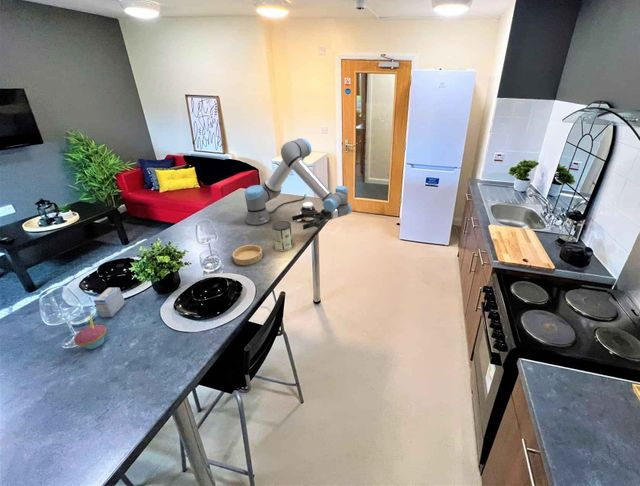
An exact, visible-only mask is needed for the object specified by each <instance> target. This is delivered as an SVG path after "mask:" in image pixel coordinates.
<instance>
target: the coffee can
mask: <svg viewBox="0 0 640 486" xmlns="http://www.w3.org/2000/svg"><path fill="white" fill-rule="evenodd" d="M271 228H272V236H273V242H274V249H275V250H276V251H279V252H285V251H289V250H291V249H292V248H293V247H294V243H293V242H294V241H293V234H292V233H293V232H292V223H291V222H290V221H288V220H279V221H276V222H273V223H272V224H271Z"/></svg>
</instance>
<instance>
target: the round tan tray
mask: <svg viewBox="0 0 640 486" xmlns="http://www.w3.org/2000/svg"><path fill="white" fill-rule="evenodd" d="M231 256H232V260H233V262H234V263H235V264H236V265H238V266H250V265H253V264H256V263H258V262H259V261H261V260H262V258H263V249H262V247H261V246H259V245H256V244H246V245H241V246H239V247H237V248H236V249H235V250H234V251H233V252H232V254H231Z"/></svg>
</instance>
